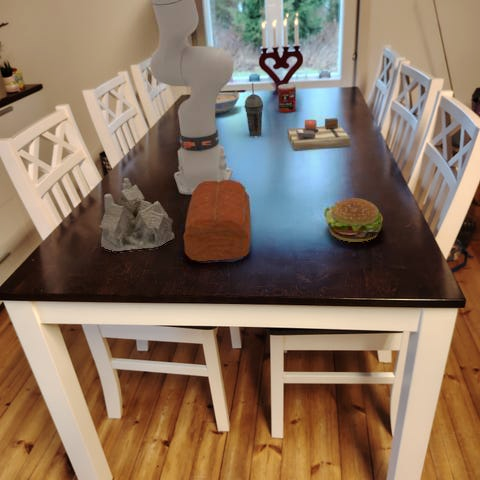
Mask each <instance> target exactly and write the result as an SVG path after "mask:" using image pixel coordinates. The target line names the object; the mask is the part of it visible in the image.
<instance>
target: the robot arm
mask: <svg viewBox="0 0 480 480" xmlns="http://www.w3.org/2000/svg"><path fill="white" fill-rule="evenodd" d="M150 1H151V4H152V7H153V11H154V15H155V20H156V23H157V26H158V31H159V39H158V40H159V41H158V46H157V47H156V50H155V51H153V54H152V56H151V59H150V65H149V66H150V71H151V74H152V76H153V78H154V79H155V80H156V81H157V82H159V83H162V84H164V85H167V86H171V87H188V88H190V96H189V98H187V99H185V100H184V101H182V103H181V104H180V105H179V107H178V110H177V115H178V121H179V128H180V129H179V130H180V131H179V132H180V133H179V142H180V148H179V149H178V150H177V156H178V157H177V158H178V166H177V169H178V171H177V172H175V173H174V175H173V176H174V177H173V178H174V179H175V182H176V186H177V189H178V192H179V193H180V194H183V195H191V196H192V194H193V191H194V190H195V189H196V187H197V186H198V185H199V184H200V183H202V182H204V181H217V182H220V181H222V180H231V176H232V173H233V169H232V168H231V167H227V162H226V154H225V148H224V147H223V146H222V145H221V144H220V141H219V139H220V138H219V136H220V135H219V133H218V132H219V131H218V129H217V125H216V123H217V122H216V114H215V104H216V99H217V97H218V94H219V92H220V90H223V88H224V87H225V86H226V85H227V84H229V82H230V80H231V79H232V77H233V73H234V62H233V58H232V56H231V55H230V53H229V52H228V50H226V49H223V48H219V47H214V46H210V45H208V46H206V45H205V46H203V45H202V46H198V45H197V46H194V45H193V46H192V45H190V43H189V36H190V35H192V34H193V33H194V32H195V30H196V29H197V27H198V24H199V19H200V18H199V17H200V16H199V12H198V10H197V4H196V1H195V0H150Z"/></svg>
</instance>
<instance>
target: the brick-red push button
mask: <svg viewBox="0 0 480 480" xmlns="http://www.w3.org/2000/svg"><path fill="white" fill-rule="evenodd" d="M316 127H318V126H317V120H316V119H305V120H304V128H305V129H315V128H316Z"/></svg>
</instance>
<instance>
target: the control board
mask: <svg viewBox="0 0 480 480" xmlns="http://www.w3.org/2000/svg"><path fill="white" fill-rule="evenodd" d="M286 130H287V139H288V142H289V143H290V146H291V147H292V150H293V151H294V152H295V151H296V152H297V151H308V150H309V151H310V150H319V149H320V150H321V149H333V148H345V147H351V137H350V136H349V135H348V134H347V132H346V131H345V130H344V129H343V127H342V126H341V125H340V124H338V128H325V125H323V126H321V125H320V126H316V128H315V129H305V127H298V128H287V129H286ZM297 130H311V131H314V133H315V137H301V136H298V135H297V133H296V132H297Z"/></svg>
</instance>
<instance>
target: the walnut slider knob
mask: <svg viewBox="0 0 480 480" xmlns="http://www.w3.org/2000/svg"><path fill="white" fill-rule="evenodd" d="M338 125H339V119H338V118H337V117H334V118H324V126H325V128H338Z"/></svg>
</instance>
